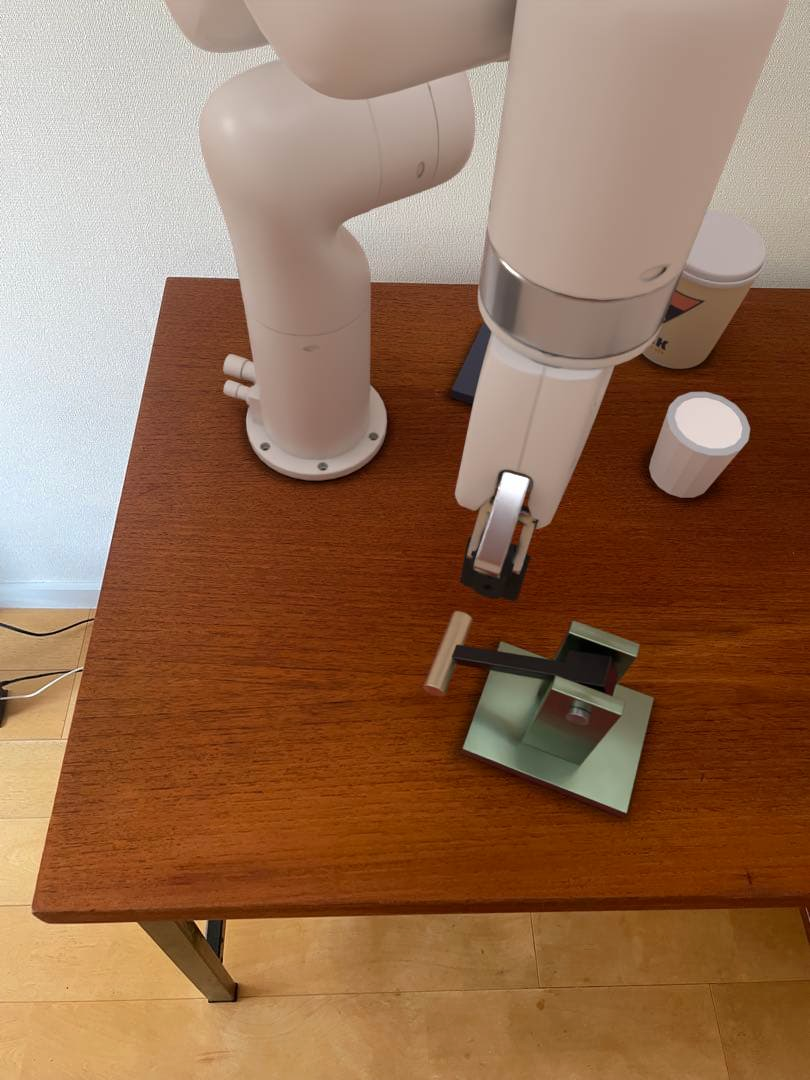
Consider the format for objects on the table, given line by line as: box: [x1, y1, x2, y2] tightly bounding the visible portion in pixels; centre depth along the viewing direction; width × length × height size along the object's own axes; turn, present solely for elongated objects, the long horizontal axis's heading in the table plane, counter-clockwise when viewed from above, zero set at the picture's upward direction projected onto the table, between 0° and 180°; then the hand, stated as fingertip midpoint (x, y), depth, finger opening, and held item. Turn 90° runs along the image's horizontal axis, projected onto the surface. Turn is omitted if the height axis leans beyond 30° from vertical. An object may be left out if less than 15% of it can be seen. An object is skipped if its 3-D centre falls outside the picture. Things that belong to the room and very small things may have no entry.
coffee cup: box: [641, 209, 767, 370], centre depth 75 cm, size 9×9×12 cm
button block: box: [450, 321, 491, 406], centre depth 75 cm, size 12×10×3 cm
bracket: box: [460, 619, 655, 818], centre depth 54 cm, size 12×9×12 cm
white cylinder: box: [648, 391, 751, 499], centre depth 69 cm, size 7×7×7 cm
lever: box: [422, 610, 618, 698], centre depth 53 cm, size 12×6×2 cm, turn 69°
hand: (513, 519), depth 46 cm, fingers open, 9 cm apart
